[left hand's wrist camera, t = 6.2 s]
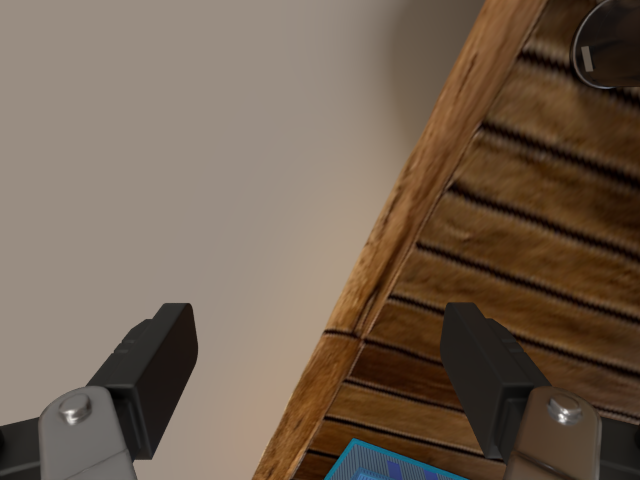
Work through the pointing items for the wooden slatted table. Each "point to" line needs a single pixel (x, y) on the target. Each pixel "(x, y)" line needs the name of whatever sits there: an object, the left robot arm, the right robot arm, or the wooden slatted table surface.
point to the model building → (382, 465)
